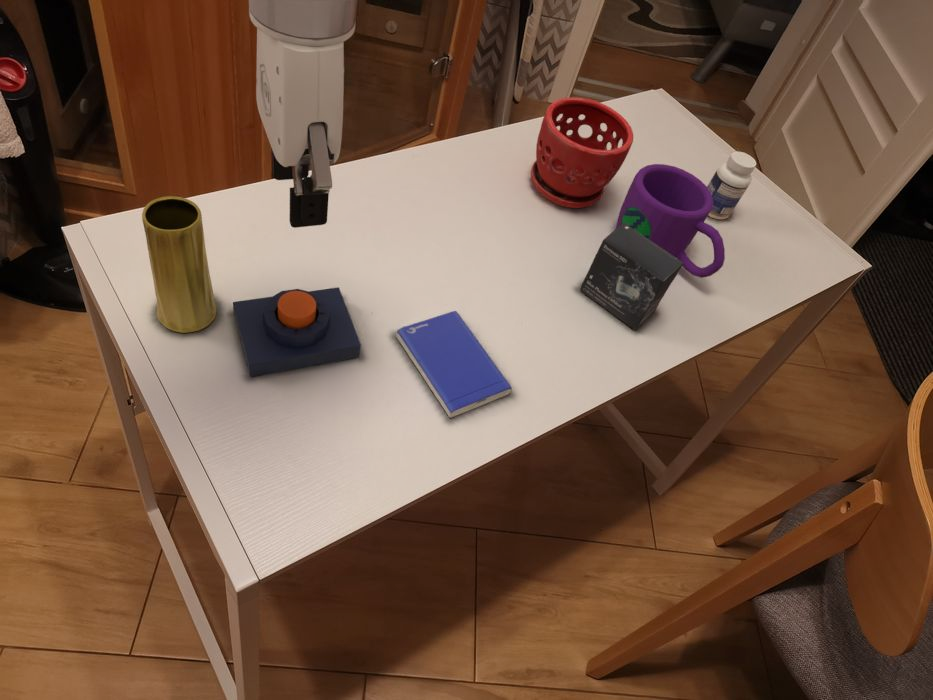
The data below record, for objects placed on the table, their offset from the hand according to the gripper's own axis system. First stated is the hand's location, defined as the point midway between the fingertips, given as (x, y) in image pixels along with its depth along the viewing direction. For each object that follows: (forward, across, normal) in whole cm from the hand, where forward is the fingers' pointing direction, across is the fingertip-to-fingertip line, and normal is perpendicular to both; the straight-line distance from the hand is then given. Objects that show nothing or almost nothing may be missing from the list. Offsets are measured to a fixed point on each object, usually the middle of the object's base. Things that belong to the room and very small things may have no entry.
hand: (299, 198), depth 62 cm
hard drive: (+20, +8, +16) cm, 27 cm away
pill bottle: (+20, -12, +70) cm, 74 cm away
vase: (+20, -6, -11) cm, 23 cm away
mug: (+20, -4, +54) cm, 58 cm away
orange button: (+16, 0, 0) cm, 16 cm away
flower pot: (+20, -20, +46) cm, 54 cm away
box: (+20, +3, +42) cm, 47 cm away
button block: (+20, 0, 0) cm, 20 cm away
